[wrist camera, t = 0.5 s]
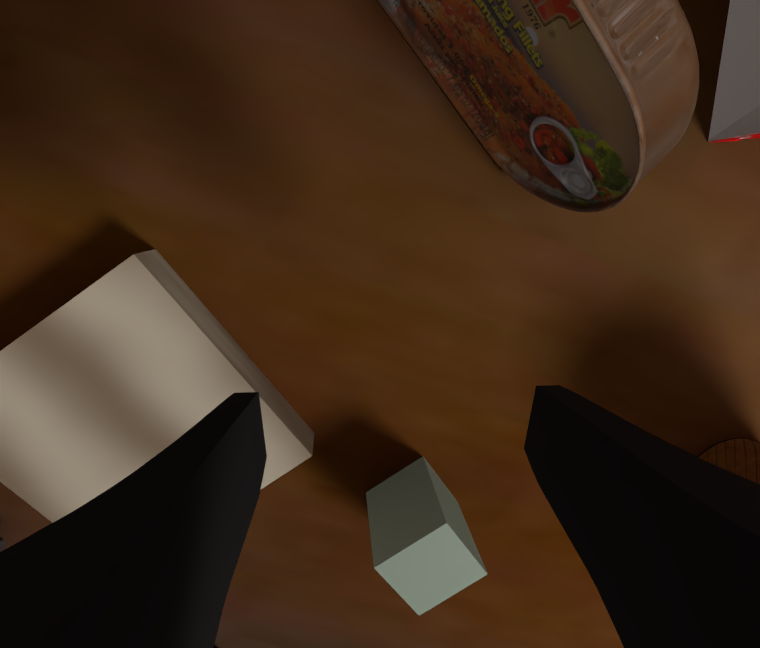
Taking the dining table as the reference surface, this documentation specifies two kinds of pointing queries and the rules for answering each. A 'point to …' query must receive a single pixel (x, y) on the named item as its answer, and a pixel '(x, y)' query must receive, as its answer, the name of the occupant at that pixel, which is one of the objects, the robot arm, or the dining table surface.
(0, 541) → the geode
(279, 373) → the dining table surface
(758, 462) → the disposable coffee cup
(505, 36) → the tin
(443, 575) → the block
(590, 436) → the robot arm
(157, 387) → the slab
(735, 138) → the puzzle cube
